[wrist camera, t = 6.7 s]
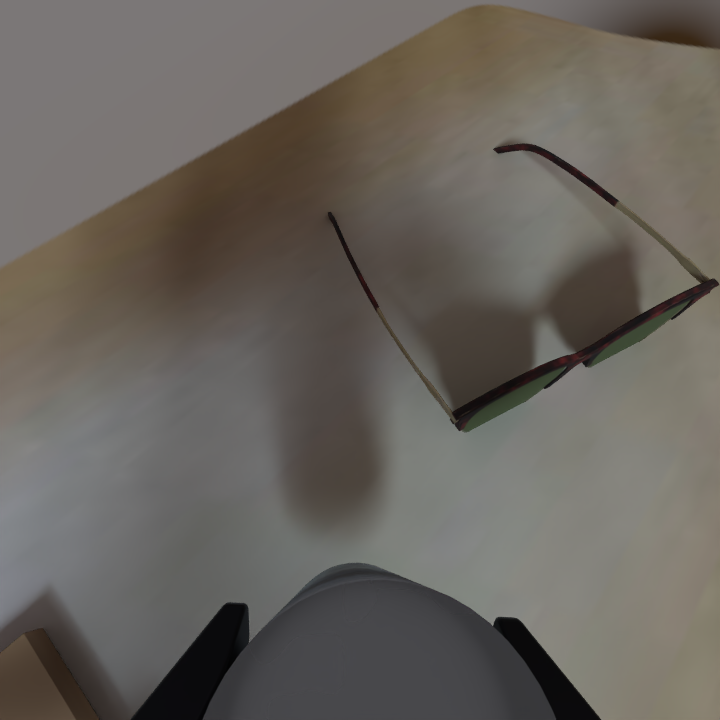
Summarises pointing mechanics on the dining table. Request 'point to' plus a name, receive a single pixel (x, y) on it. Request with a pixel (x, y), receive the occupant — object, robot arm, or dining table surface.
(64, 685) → the door lock
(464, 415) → the sunglasses
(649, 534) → the dining table surface
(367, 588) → the silver metal cylinder
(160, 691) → the robot arm
